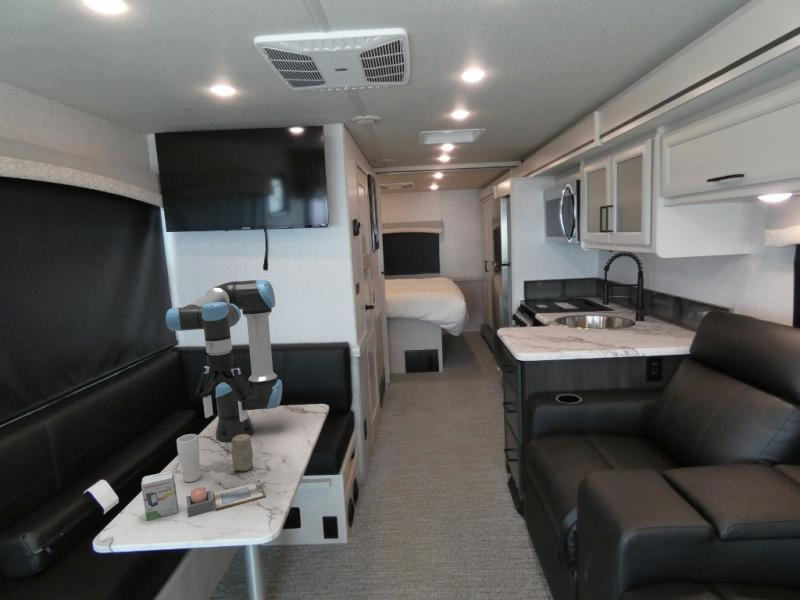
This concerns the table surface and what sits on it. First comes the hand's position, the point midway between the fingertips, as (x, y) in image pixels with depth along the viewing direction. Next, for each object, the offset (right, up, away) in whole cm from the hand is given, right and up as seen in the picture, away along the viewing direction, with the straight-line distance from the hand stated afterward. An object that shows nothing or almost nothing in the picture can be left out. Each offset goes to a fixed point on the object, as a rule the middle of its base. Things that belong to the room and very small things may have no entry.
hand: (226, 418), depth 148 cm
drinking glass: (-17, -25, +14) cm, 33 cm away
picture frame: (+3, -25, +2) cm, 26 cm away
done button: (-7, -25, -4) cm, 26 cm away
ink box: (-17, -28, -6) cm, 33 cm away
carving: (-1, -23, +20) cm, 31 cm away
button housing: (-7, -27, -4) cm, 28 cm away
